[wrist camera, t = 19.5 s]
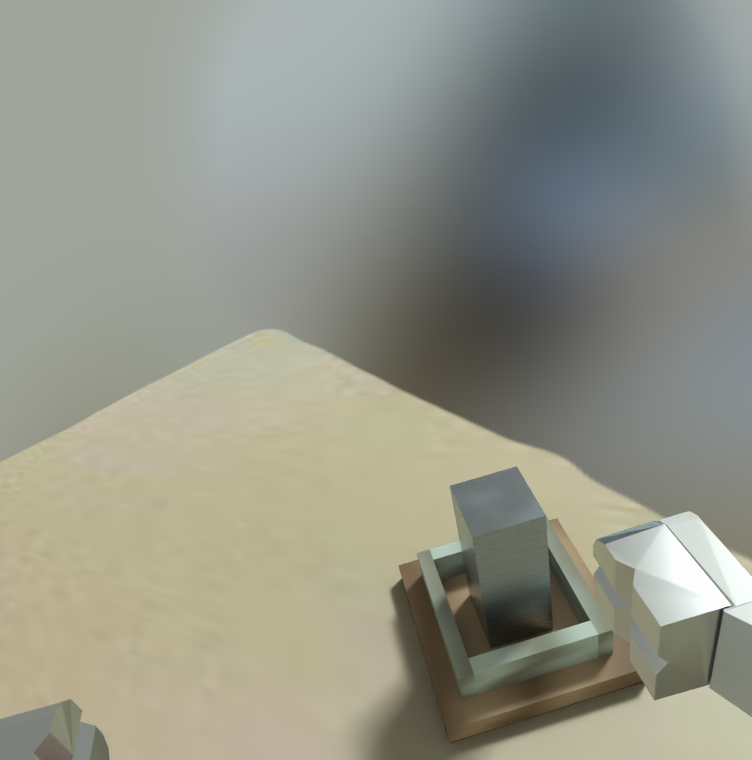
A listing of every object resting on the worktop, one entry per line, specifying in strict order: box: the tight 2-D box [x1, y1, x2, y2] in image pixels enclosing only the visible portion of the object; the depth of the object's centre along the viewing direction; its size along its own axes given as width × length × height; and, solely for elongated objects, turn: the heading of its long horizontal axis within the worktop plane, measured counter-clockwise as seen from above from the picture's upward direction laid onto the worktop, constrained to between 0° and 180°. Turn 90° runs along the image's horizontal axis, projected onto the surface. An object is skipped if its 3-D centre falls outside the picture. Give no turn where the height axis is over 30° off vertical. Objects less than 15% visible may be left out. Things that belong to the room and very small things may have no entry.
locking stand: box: [399, 517, 643, 743], centre depth 43 cm, size 13×13×4 cm
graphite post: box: [450, 467, 553, 648], centre depth 40 cm, size 4×4×11 cm
